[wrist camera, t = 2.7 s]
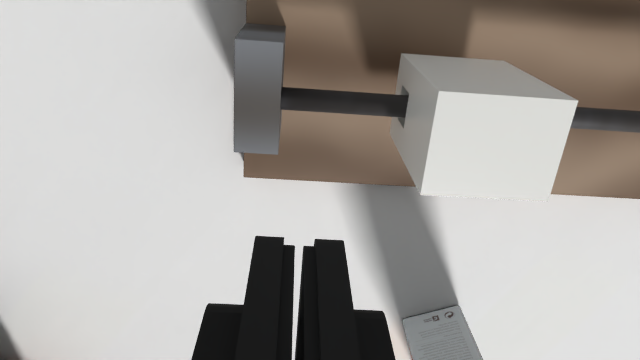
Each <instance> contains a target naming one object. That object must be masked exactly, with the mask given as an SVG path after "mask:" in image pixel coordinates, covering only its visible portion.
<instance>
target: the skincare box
mask: <svg viewBox="0 0 640 360" xmlns="http://www.w3.org/2000/svg"><path fill="white" fill-rule="evenodd" d="M403 326H404V329H405V333H406V337H407V341H408V345H409V349H410V353H411V357H412V360H483V358H482V356H481V354H480V352H479V349H478V347H477V344H476V342H475V340H474V338H473V335H472V333H471V331H470V329H469V326H468V324H467V322H466V320H465V317H464V315H463V313H462V310H461V308H460V306H454V307H449V308H445V309H441V310H438V311H434V312H430V313H426V314H422V315H418V316H413V317H409V318H405V319H403Z"/></svg>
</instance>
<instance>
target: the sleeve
mask: <svg viewBox="0 0 640 360" xmlns="http://www.w3.org/2000/svg"><path fill="white" fill-rule="evenodd" d="M395 95H409V98H408V104H407V111H406V117H405V118H403V117H392V120H391V127H390V135H391V137H392V139H393V141H394V143H395V145H396V147H397V149H398V151H399V153H400V155H401V157H402V159H403V161H404V163H405V165H406V167H407V169H408V171H409V173H410V175H411V177H412V179H413V181H414V183H415V185H416V187H417V190H418V192H419V194H420V195H429V196H448V197H466V198H485V199H504V200H522V201H541V202H548V201H549V197H550V194H551V191H552V187H553V184H554V181H555V177H556V174H557V170H558V167H559V164H560V160H561V157H562V154H563V150H564V147H565V144H566V140H567V137H568V134H569V130H570V127H571V124H572V120H573V117H574V114H575V110H576V107H577V103H578V100H576V99H574V98H573V97H571V96H569V95H567V94H565V93H563V92H561V91H560V90H558V89H556V88H554V87H552V86H550V85H548V84H546V83H545V82H543V81H541V80H539V79H537V78H535V77H533V76H532V75H530V74H528V73H526V72H524V71H522V70H520V69H518V68H517V67H515V66H513V65H511V64H509V63H507V62H505V61H500V60H486V59H473V58H459V57H445V56H432V55H418V54H404V53H401V57H400V64H399V71H398V78H397V85H396V92H395Z"/></svg>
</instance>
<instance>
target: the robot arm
mask: <svg viewBox="0 0 640 360" xmlns="http://www.w3.org/2000/svg"><path fill="white" fill-rule="evenodd" d="M294 253H295V246H294V245H284V237H266V236H255V242H254V248H253V253H252V259H251V265H250V271H249V277H248V283H247V289H246V295H245V301H244V305H234V304H211V303H209V304H208V305H207V307H206V309H205V313H204V316H203V320H202V323H201V327H200V331H199V334H198V338H197V342H196V345H195V349H194V352H193V356H192V360H292V325H293V289H294ZM295 360H395V356H394V352H393V347H392V343H391V339H390V334H389V330H388V325H387V321H386V317H385V314H384V313H383V311H373V310H354V309H353V302H352V295H351V288H350V281H349V274H348V267H347V260H346V253H345V246H344V241H343V240H324V239H315V242H314V246H304V247H303V259H302V272H301V285H300V299H299V312H298V325H297V338H296V352H295Z"/></svg>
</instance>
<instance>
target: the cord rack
mask: <svg viewBox="0 0 640 360" xmlns="http://www.w3.org/2000/svg"><path fill="white" fill-rule="evenodd" d="M401 53H404V54H418V55H432V56H445V57H459V58H473V59H486V60H500V61H505V62H507V63H509V64H511V65H513V66H515V67H517V68H518V69H520V70H522V71H524V72H526V73H528V74H530V75H532V76H533V77H535V78H537V79H539V80H541V81H543V82H545V83H546V84H548V85H550V86H552V87H554V88H556V89H558V90H560V91H561V92H563V93H565V94H567V95H569V96H571V97H573V98H574V99H576V100H578V103H577V107H576V110H575V114H574V117H573V120H572V124H571V127H570V130H569V134H568V137H567V140H566V144H565V147H564V150H563V154H562V157H561V160H560V164H559V167H558V170H557V174H556V177H555V181H554V184H553V187H552V191H551V194H559V195H577V196H596V197H614V198H632V199H640V0H247V5H246V24H245V26H244V27H243V28H242V30H241V31H240V32H239V34H238V35H237V37H236V38H235V67H234V152H240V153H244V177H250V178H268V179H286V180H305V181H323V182H341V183H359V184H377V185H396V186H414V187H416V185H415V183H414V181H413V179H412V177H411V175H410V173H409V171H408V169H407V167H406V165H405V163H404V161H403V159H402V157H401V155H400V153H399V151H398V149H397V147H396V145H395V143H394V141H393V139H392V137H391V135H390V127H391V120H392V117H403V118H405V117H406V111H407V104H408V98H409V95H395V92H396V85H397V78H398V71H399V64H400V57H401Z"/></svg>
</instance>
